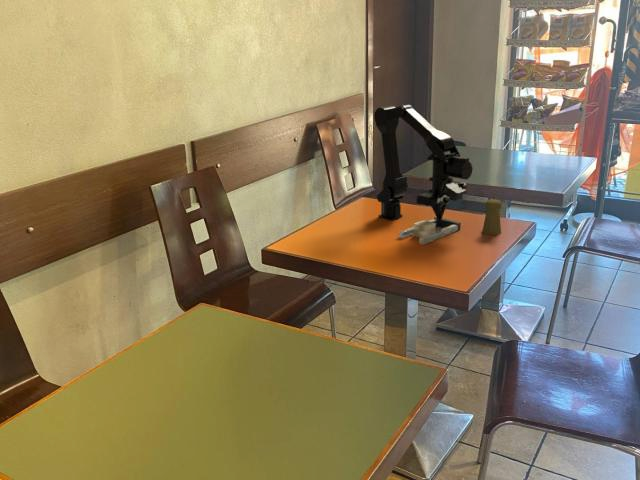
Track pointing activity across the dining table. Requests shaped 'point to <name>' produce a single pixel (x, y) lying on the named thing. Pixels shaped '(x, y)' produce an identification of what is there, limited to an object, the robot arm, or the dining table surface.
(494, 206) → the olive tapered tower
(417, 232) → the cream block
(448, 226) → the trap channel
